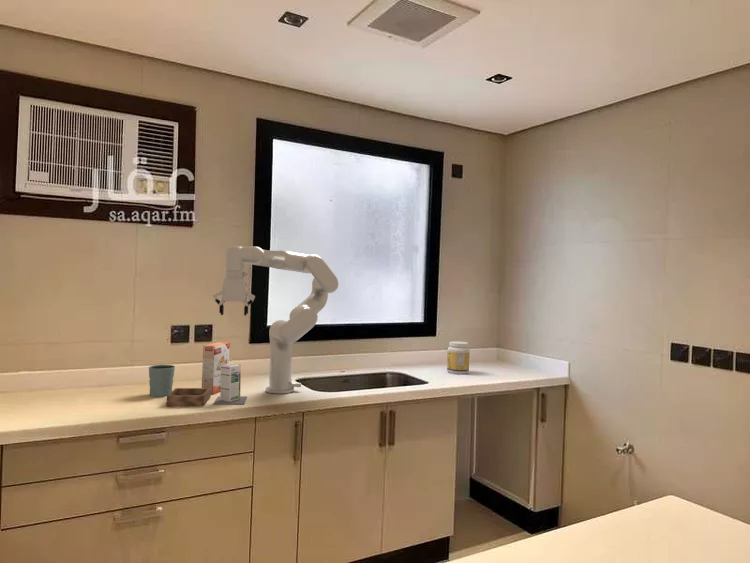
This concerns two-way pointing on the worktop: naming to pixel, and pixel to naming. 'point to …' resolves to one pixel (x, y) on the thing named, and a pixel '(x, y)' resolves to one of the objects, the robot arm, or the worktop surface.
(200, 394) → the walnut box
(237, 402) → the grey mat
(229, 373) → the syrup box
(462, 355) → the supplement tub
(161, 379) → the teal cup
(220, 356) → the cracker box
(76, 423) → the worktop surface
